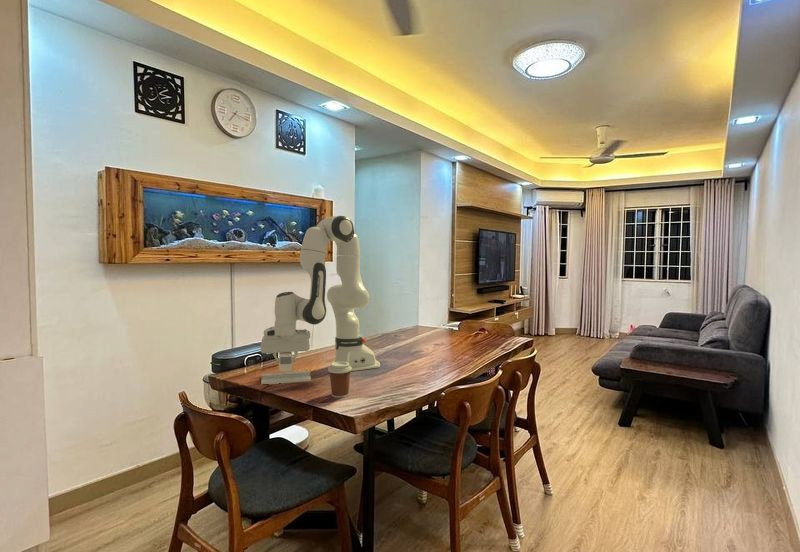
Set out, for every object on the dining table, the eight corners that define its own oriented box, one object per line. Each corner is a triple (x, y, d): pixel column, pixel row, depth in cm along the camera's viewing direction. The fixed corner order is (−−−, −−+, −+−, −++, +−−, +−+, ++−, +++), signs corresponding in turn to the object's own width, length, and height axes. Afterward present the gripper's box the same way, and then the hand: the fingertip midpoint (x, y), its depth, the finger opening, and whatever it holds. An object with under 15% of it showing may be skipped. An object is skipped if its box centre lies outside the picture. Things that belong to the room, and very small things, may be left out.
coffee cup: (335, 389, 165) (335, 359, 165) (356, 392, 162) (356, 362, 161) (323, 397, 157) (323, 365, 156) (344, 400, 154) (344, 367, 153)
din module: (291, 365, 184) (291, 350, 184) (292, 370, 176) (292, 354, 175) (279, 366, 183) (279, 350, 183) (279, 371, 174) (279, 355, 174)
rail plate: (308, 373, 188) (308, 367, 188) (311, 381, 177) (311, 375, 177) (261, 377, 183) (261, 371, 182) (261, 385, 171) (261, 379, 171)
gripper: (309, 327, 185) (309, 359, 185) (260, 329, 179) (260, 361, 179) (310, 330, 179) (310, 362, 179) (260, 332, 173) (260, 365, 173)
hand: (285, 362), depth 179 cm, fingers closed on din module, 5 cm apart
